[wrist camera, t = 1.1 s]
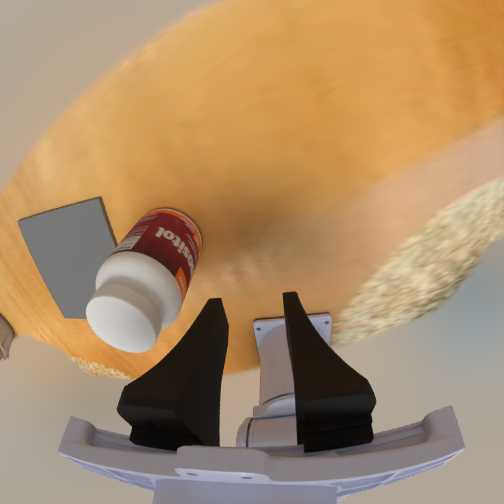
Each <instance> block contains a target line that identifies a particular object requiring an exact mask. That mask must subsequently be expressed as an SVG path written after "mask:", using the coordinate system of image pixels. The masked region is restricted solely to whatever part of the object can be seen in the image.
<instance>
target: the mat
mask: <svg viewBox="0 0 504 504" xmlns="http://www.w3.org/2000/svg"><path fill="white" fill-rule="evenodd" d="M17 223H18V225H19V228H20V230H21V233H22V235H23V238H24V240H25V242H26V245H27V247H28V249H29V251H30V254H31V256H32V258H33V260H34V262H35V264H36V266H37V268H38V270H39V272H40V274H41V276H42V278H43V280H44V282H45V284H46V286H47V288H48V290H49V292H50V293H51V295H52V297H53V299H54V300H55V302H56V304H57V306H58V307H59V309H60V311H61V312H62V314H63V316H64V317H65V318H76V319H87V316H86V307H87V304H88V303H89V301H90V299H91V298H92V296H93V294H94V293H95V291H96V276H97V273H98V271H99V269H100V267H101V265H102V264H103V263H104V261H105V260H106V259H107V258H108V256H109V255H110V254H111V253H112V252H113V250H114V249H115V248H116V247H117V246H118V245H117V242H116V239H115V237H114V234H113V231H112V228H111V225H110V222H109V220H108V217H107V214H106V211H105V208H104V204H103V201H102V198H101V197H98V198H94V199H90V200H86V201H82V202H78V203H74V204H71V205H67V206H63V207H60V208H56V209H53V210H50V211H46V212H43V213H40V214H36V215H33V216H30V217H27V218H24V219H21V220H19V221H18V222H17Z"/></svg>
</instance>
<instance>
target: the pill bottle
mask: <svg viewBox="0 0 504 504" xmlns="http://www.w3.org/2000/svg"><path fill="white" fill-rule="evenodd" d="M201 250H202V239H201V235H200V233H199V230H198V228H197V227H196V225H195V224H194V223H193V221H192V220H191V219H189V218H188V217H187V216H186V215H184V214H182V213H180V212H178V211H176V210H172V209H164V208H163V209H157V210H154V211H151V212H149V213H147V214H146V215H145V216H144V217H142V218H141V219H140V220H139V221H138V223H137V224H136V225H135V226H134V227H133V228H132V229H131V231H130V232H129V233H128V234H127V235H126V236H125V238H124V239H123V240H122V241H121V242H120V243H119V245H118V246H117V247H116V248H115V249H114V250H113V252H112V253H111V254H110V255H109V256H108V258H107V259H106V260H105V261H104V263H103V264H102V265H101V267H100V269H99V271H98V273H97V276H96V291H95V293H94V294H93V296H92V298H91V299H90V301H89V303H88V304H87V307H86V316H87V320H88V323H89V325H90V326H91V328H92V330H93V331H94V332H95V333H96V334H97V335H98V336H99V337H100V338H101V339H102V340H103V341H105V342H106V343H108V344H109V345H111V346H113V347H115V348H117V349H120V350H123V351H127V352H133V353H140V352H145V351H147V350H149V349H151V348H152V347H153V346H154V344H155V343H156V340H157V338H158V336H159V333H160V331H161V330H162V329H164V328H166V327H168V326H169V325H171V324H172V323H173V322H174V320H175V319H176V318H177V316H178V314H179V312H180V310H181V307H182V304H183V301H184V298H185V296H186V292H187V290H188V287H189V284H190V281H191V279H192V276H193V273H194V271H195V268H196V265H197V263H198V260H199V257H200V254H201Z"/></svg>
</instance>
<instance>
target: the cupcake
mask: <svg viewBox="0 0 504 504" xmlns="http://www.w3.org/2000/svg"><path fill="white" fill-rule="evenodd" d="M13 337H14V332H13V330H12V328H11V326H10V325H9V324H8V322H7V321H6V320H5V319H4V318H3V317H2V316H1V315H0V360H1V359H2V358H3V359H4V360H6V358H7V359H9V349H10V346H11V343H12V340H13Z"/></svg>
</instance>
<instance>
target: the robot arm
mask: <svg viewBox="0 0 504 504" xmlns="http://www.w3.org/2000/svg"><path fill="white" fill-rule="evenodd" d="M283 304H284V315H285V318H277V319H265V320H256V321H254V323H253V327H254V332H255V337H256V342H257V347H258V352H259V357H260V362H261V368H260V401H259V406H255V407H254V408H253V417H248V418H246V419H245V420H244V421H243V423H242V424H241V426H240V427H239V429H238V432H237V437H236V447H220V436H219V424H220V423H219V422H220V420H219V419H220V416H219V415H220V393H221V381H222V375H223V369H224V364H225V358H226V352H227V346H228V333H229V325H228V321H227V318H226V314H225V311H224V307H223V303H222V300H221V298H212V299H209V300H208V301H207V303H206V304H205V306H204V307H203V309H202V311H201V312H200V314H199V315H198V317H197V318H196V320H195V321H194V323H193V324H192V325H191V327H190V328H189V330H188V331H187V332H186V334H185V335H184V336H183V337H182V339H181V340H180V341H179V342H178V344H177V345H176V346H175V347H174V348H173V349H172V350H171V351H170V352H169V353H168V354H167V355H166V356H165V357H164V358H163V359H162V360H161V361H160V362H159V363H158V364H156V365H155V366H154V367H153V368H151V369H150V370H149V371H148V372H146V373H145V374H143V375H142V376H141V377H139V378H138V379H136V380H134V381H133V382H131V383H129V384H128V385H126V386H125V387H124V389H123V392H122V394H121V397H120V400H119V403H118V406H117V412H118V413H119V415H120V416H121V417H122V418H123V419H124V420H125V421H126V422H128V423H129V424H130V425H131V426H132V430H131V434H130V436H128V435H123V434H118V433H114V432H110V431H105V430H101V429H98V428H95V426H93V425H92V424H91V423H90V422H88V421H86V420H83V419H79V418H76V417H72V416H71V417H70V419H69V421H68V424H67V427H66V429H65V432H64V435H63V438H62V441H61V443H60V446H59V449H58V453H60V454H61V455H62V456H64V457H66V458H67V459H69V460H71V461H72V462H74V463H76V464H77V465H79V466H81V467H83V468H84V469H87V470H90V471H92V472H95V473H98V474H101V475H103V476H106V477H109V478H112V479H115V480H118V481H121V482H124V483H128V484H131V485H134V486H138V487H141V488H145V489H149V490H152V491H155V492H154V498H153V504H337V503H338V502H339V501H340V500H342V499H343V498H344V497H346V496H347V495H349V494H353V493H358V492H362V491H366V490H370V489H374V488H377V487H381V486H384V485H388V484H391V483H394V482H397V481H400V480H403V479H406V478H409V477H412V476H415V475H418V474H421V473H423V472H426V471H429V470H431V469H434V468H437V467H439V466H441V465H443V464H445V463H446V462H448V461H449V460H450V459H452V458H453V457H455V456H456V455H458V454H459V453H460V452H461V451H463V450H464V449H465V445H464V441H463V438H462V434H461V431H460V428H459V425H458V422H457V419H456V416H455V413H454V410H453V407H452V406H447V407H444V408H442V409H439V410H436V411H433V412H431V413H429V414H427V415H426V416H425V417H424V419H423V420H422V421H420V422H417V423H413V424H410V425H406V426H403V427H399V428H396V429H391V430H388V431H383V432H379V433H374V434H373V430H372V425H371V424H372V416H371V413H372V411H373V409H374V407H375V404H376V398H375V395H374V392H373V390H372V388H371V385H370V384H369V382H368V380H367V379H366V378H364V377H363V376H362V375H360V374H359V373H358V372H356V371H355V370H354V369H353V368H351V367H350V366H349V365H348V364H347V363H345V362H344V361H343V360H342V359H341V358H340V357H339V356H338V355H337V354H336V353H335V352H334V351H333V350H332V349H331V348H330V336H331V322H332V318H331V315H330V314H318V315H309V316H307V314H306V312H305V310H304V308H303V306H302V304H301V302H300V300H299V297H298V294H297V293H296V292H285V293H283ZM325 321H328V322H325ZM258 327H259V328H258Z"/></svg>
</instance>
